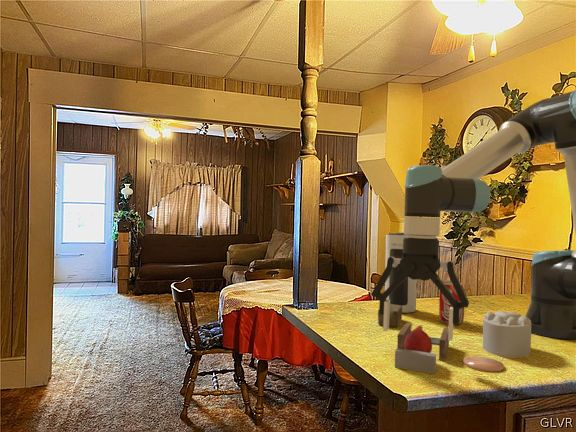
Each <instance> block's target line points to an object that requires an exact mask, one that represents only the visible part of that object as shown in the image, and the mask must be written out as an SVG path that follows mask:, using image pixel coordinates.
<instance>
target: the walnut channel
mask: <svg viewBox="0 0 576 432" xmlns="http://www.w3.org/2000/svg"><path fill="white" fill-rule="evenodd" d="M448 328H449V327H444V328H443V330H442V332H441V335H440V337H431V336H429V337H430V339H431V342H432V345H437V346H439V347H438V349H439V350H438V360H439V361H443V362H445V361H446V358H447V355H448V350H449V347H450V340H448ZM411 331H412V322H411V323H410V322H406V323H405V324H404V325H403V326H402V327H401V329H400V331H399V332H398V333H397V344H396V345H397V347H396V349H397V348H400V349H405V346H404V342H405V338H406V336H407V335H408V334H409V333H410V332H411Z"/></svg>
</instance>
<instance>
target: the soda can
mask: <svg viewBox="0 0 576 432" xmlns="http://www.w3.org/2000/svg"><path fill="white" fill-rule="evenodd" d="M442 282H443V283H444V284H445V286H446V287H447V288H448V289H449V291H450V292H451V293H452V295H453V296H454V297H455V298H456V300H457V301H458V302H459V301H460V299H459V297H458V294H457V292H456V290H455V288H454V286H453V284H452V282H451V280H450V281H446V280H445V281H442ZM460 284H461V286H462V288H463V290H464V291H465V287H464V286H463V283H462V282H460ZM438 299H439V303H438V304H439V306H438V311H439V312H438V313H439V314H438V316H439V320H440V321H441V322H442V323H443V324H446V325H449V309H450V307H452V305H451V304H450V303H449V301H448V300H447V299H446V298H445V296H444V295H443V294H442V293H441V291H440V290H439V298H438ZM464 317H465V307H464V308H461V309H460V310H459V323H458V324H453V326H454V325H455V326H456V325H460V324H461V323H463V322H464Z"/></svg>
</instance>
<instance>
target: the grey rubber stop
mask: <svg viewBox="0 0 576 432" xmlns="http://www.w3.org/2000/svg"><path fill="white" fill-rule="evenodd" d="M394 351H395V352H394V367H395V368H398V369H404V370H410V371H416V372H422V373H429V374H435V373H436V370H437V369H436V367H437V365H436V364H437V360H436V359H437V353H433V352H431V353H427V352H420V351H413V350H406V349H400V348H397V347H396V349H395V350H394Z"/></svg>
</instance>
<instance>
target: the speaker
mask: <svg viewBox="0 0 576 432" xmlns="http://www.w3.org/2000/svg"><path fill="white" fill-rule="evenodd" d="M404 237H406V235H405V234H404V232H398V233H397V232H395V233H386V234H385V262H384V263H385V268H384V270H385V269H386V267H387V261H388V258H389V257H395V258H398V259H401V258H402V256H403V239H404ZM403 272H404V269H403V268H402V266H401V265H400V264H398V265H397V267H394V268H393V270H392V272H391V274H390V275H389V277H388V279H387V281H386V283H385V284H384V292H385V291H386V290H387V289H388V288H389V287H390V285H391V284H392V283H393V282H394V281H395V280H396V279H397V278H398V277H399V276H400V275H401V274H402V273H403ZM417 280H418V279H416V280H413V279H411V278H409V277H407V278H406V279H405V280H404V281H403V282H402V283H401V284H400V285H399V286H398V287H397V288H396V289H395V290H394V291H393V292H392V293H391V294H390V295H389V296H388V297H387V298H386V300H390V304H394V305H401V306H402V314H410V313H411V314H412V313H416V312H417Z"/></svg>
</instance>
